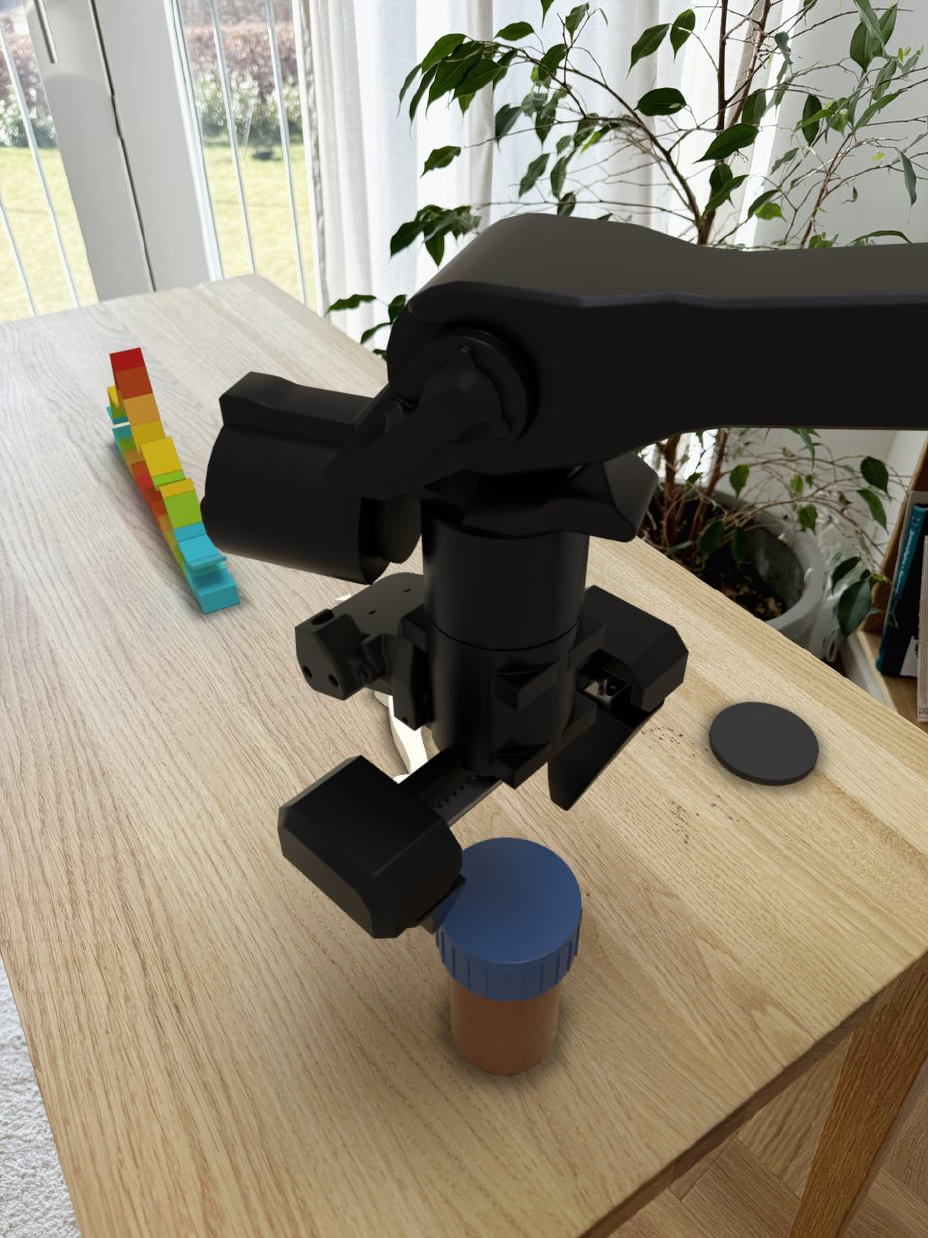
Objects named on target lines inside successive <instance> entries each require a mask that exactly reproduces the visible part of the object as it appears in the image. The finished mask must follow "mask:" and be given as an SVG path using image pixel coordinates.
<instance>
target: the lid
mask: <svg viewBox="0 0 928 1238" xmlns="http://www.w3.org/2000/svg"><path fill="white" fill-rule="evenodd" d="M459 873H460V874H461V875H462V876H463V877H465V878H466V883H465V885H464V887H463V889H462V891H461V892H460V894H459V896H458V897H457V899H456V901H455V903H454V905H453V906H452V908H451V910H450V912H449V914H448V916H447V917H446V919H445V921H444V922H443V924H442V925H441V926H440V928H439V929H438V930H437V931H436V932H435V946H436V948H437V949H438V953H439V957H440V959H441V964H443V965H444V967H445V969H446V971H447V972H448V974H449V973H450V974H451V976H452V978H454V979H455V980H456V981H457V982H458V983H459V984H460V985H461V986H463V987H464V988H466V990H468V991H470V992H472V993H474V994H476V995H478V996H481V997H483V998H486V999H490V1000H494V1001H501V1002H517V1001H524V1000H528V999H532V998H535V997H537V996H540V995H543V994H544V993H545V992H547V991H549V990H550V989H552V988H553V987H554V986H556V985H558V984H559V982H560V981H561V980H562V981H563V979H564V978H565V977H566V975H568V973H569V972H570V971H571V967H572V965H573V964H574V960H575V958H576V957H577V956H578V950H579V943H580V936H581V927H582V919H583V910H584V908H583V907H582V905H583V903H582V902H583V898H582V892H581V888H580V884H579V882H578V879H577V877H576V874H575V873H574V871H573V870H572V868H571V867H570V866H569V865H568V864H567V862H566V861H565V860H564V859H563V858H562V857H561V856H560V855H558V854H557V853H555V852H554V851H553V850H551V849H550V848H548V847H547V846H544V845H542V844H540V843H539V842H535V841H532V840H529V839H525V838H519V837H510V836H509V837H508V836H507V837H505V836H503V837H493V838H488V839H483V840H480V841H478V842H475V843H473V844H471V845H469V846H467V847H465V848H464V849H462V868H461V870H460V872H459Z"/></svg>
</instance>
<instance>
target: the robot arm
mask: <svg viewBox="0 0 928 1238" xmlns="http://www.w3.org/2000/svg"><path fill="white" fill-rule="evenodd" d="M385 359H386V373H387V383H386V384H385V385H384V386H383V387H382V388H381V389H380V391H379V392H378V393H377V394H376V395H375V396H374V397H371V396H367V395H361V394H354V393H350V392H349V393H348V392H345V391H344V392H343V391H337V390H333V389H326V388H320V387H314V386H309V385H303V384H300V383H296V382H294V381H291V380H289V379H287V378H284V377H282V376H279V375H275V374H269V373H265V372H259V371H252V370H251V371H250V370H249V372H247V373H246V374H245V375H244V376H242V377H241V378H240V379H238V381H237V382H235V383H234V384H233V385H232V386H230V387H229V388H227V390H226V391H225V392H223V393H222V394H221V395H219V397H218V404H219V410H220V414H221V420H222V426H221V428H220V430H219V431H218V434H217V436H216V438H215V441H214V443H213V445H212V447H211V448H212V449H211V452H210V455H209V459H208V462H207V467H206V473H205V480H204V496H203V497H202V498H201V500H200V502H199V503H200V511H201V517H202V522H203V525H204V528H205V531H206V533H207V536H208V537H209V539H210V540H211V542H212V543H213V545H214V546H215V547H216V548H217V550H218V551H220V552H221V553H225V554H229V555H233V556H237V557H242V558H245V559H250V560H254V561H259V562H262V563H267V564H271V565H276V566H280V567H284V568H289V569H292V570H297V571H301V572H306V573H308V574H309V573H310V574H315V575H319V576H322V577H326V578H330V579H331V578H332V579H335V580H340V581H343V582H344V581H345V582H349V583H353V584H357V585H362V586H366V587H365V588H363V589H362V590H360V591H358V592H356V593H355V594H353V595H351V596H352V597H350V598H348V599H347V600H345V601H344V602H342V603H340V604H339V605H338V604H336V605H335V606H334V607H332V608H328V607H327V608H324V609H322V610H320V611H319V612H317V613H315V614H313V615H312V616H310V617H309V618H307V619H305V620H304V621H302V622H301V623H299V624H297V625H296V626H294V640H295V656H296V659H297V662H298V666H299V667H300V670H301V673H302V676H303V678H304V680H305V682H306V683H307V684H308V686H309V687H310V688H311V689H312V690H313V691H314V692H318V693H319V694H323V695H325V696H327V697H330V698H334V699H337V700H339V701H342V702H345V701H347V700H349V699H350V698H351V697H353V696H355V694H357V693H358V692H360V691H362V690H363V689H364V688H366V689H368V690H371V691H377V692H380V693H383V694H386V695H390V696H392V697H393V710H394V717H395V718H397V719H398V720H399V721H401V722H402V723H404V724H405V725H406V726H408V727H409V728H410V729H412V730H413V731H416V730H418V729H419V728H421V727H422V726H424V727H425V728H426V729H428V730H430V732H431V739H432V741H433V743H434V745H435V747H436V749H437V750H438V753H436V754H434V756H432V757H431V758H430V759H428V761H427V762H426V763H425V764H423V765H422V766H421V767H420V768H418V769H417V770H416V771H414V772H413V773H412V774H410V775H409V776H408V777H407V778H405V779H404V780H403V781H401V782H400V783H397V782H396V781H395V780H393V779H394V778H393V777H391V776H389V775H388V774H387V773H386V772H384V771H383V770H382V769H381V768H379V766H376V765H375V764H374V763H373V762H371V760H369V759H368V758H366V757H365V756H364V755H362V754H358V755H355V756H351V757H347V758H346V759H344V760H343V761H342V762H340V763H339V764H338V765H336V766H335V767H333V768H331V770H329V771H328V772H326V773H325V774H324V775H322V776H321V777H319V778H318V779H317V780H315V781H314V782H313V783H312V784H310V785H309V786H307V787H306V788H305V789H303V790H301V791H300V792H299V793H297V794H296V795H295V796H293V797H292V798H291V799H289V800H288V801H286V802H285V803H283V804H282V805H280V806H279V807H278V816H277V825H276V826H277V827H276V831H277V835H278V841H279V845H280V850H281V855H282V857H284V859H286V860H287V861H288V862H289V863H290V864H291V866H293V867H294V868H295V869H297V870H298V872H299V873H301V874H302V875H303V876H304V877H305V878H306V879H308V880H309V882H311V883H312V884H313V885H314V886H315V887H316V888H317V889H318V890H319V891H320V892H321V893H323V894H324V895H325V896H326V897H327V898H328V899H330V901H331V902H333V903H334V904H335V905H336V906H337V907H338V908H339V909H340V910H341V911H343V912H344V913H345V915H347V916H348V917H349V918H350V919H351V920H352V921H354V922H355V924H356V925H358V927H360V928H361V929H362V930H363V931H365V933H366V934H367V935H369V936H370V937H371V938H372V939H373V940H380V939H382V940H384V939H385V940H386V939H397V938H399V937H400V936H401V935H402V934H403V933H404V932H405V931H407V930H408V929H414V928H417V927H419V926H420V927H421V928H422V929H424V931H426V932H427V933H428V934H429V935H432V936H433V935H434V934H436V931H437V930H438V929H439V928H440V926H441V925H442V924H443V922H444V921H445V919H446V917H447V916H448V914H449V912H450V910H451V908H452V906H453V905H454V903H455V901H456V899H457V897H458V896H459V894H460V892H461V891H462V889H463V887H464V885H465V883H466V878H465V877H463V876H462V875H461V874H460V873H459V872H460V870H461V868H462V850H463V847H462V845H461V843H459V841H458V839H457V837H456V836H455V834H454V832H453V831H452V830H451V827H452V826H454V825H455V824H456V823H458V821H460V820H461V819H463V818H464V817H465V816H466V815H467V814H468V813H470V812H471V810H473V809H474V808H475V807H476V806H477V805H479V804H480V803H481V802H482V801H483V800H485V799H487V797H488V796H490V795H491V794H492V793H493V792H494V791H496V789H498V788H499V787H500V786H502V784H505V785H506V786H508V787H510V788H511V789H512V790H514V791H516V790H517V789H518V788H519V787H521V785H523V784H524V783H525V782H526V781H527V780H528V779H530V778H531V777H532V776H533V775H534V774H536V773H537V772H538V771H539V770H540V769H541V768H543V767H544V766H545V765H546V764H547V782H548V791H549V799H550V801H551V802H552V803H553V804H554V805H555V806H557V807H559V809H561V810H563V811H565V812H569V811H570V810H571V809H572V808H573V807H574V806H575V805H576V804H577V802H579V800H580V799H581V798H582V797H583V795H585V793H586V792H587V791H588V790H589V789H590V788H591V786H592V785H593V784H594V783H595V782H596V781H597V779H598V778H599V777H600V776H601V775H602V774H603V773H604V771H605V770H606V769H607V768H608V767H609V766H610V765H611V764H612V762H614V760H615V759H616V758H617V757H618V756H619V754H620V753H621V752H623V750H624V749H625V748H626V747H627V746H628V745H629V743H630V742H631V741H633V739H634V738H635V736H637V734H639V732H640V731H641V730H642V729H643V728H644V727H645V725H647V724H648V722H649V721H650V720H651V719H652V718H653V717H654V716H655V715H656V714H657V713H658V712H659V711H660V710H661V709H662V708H663V707H664V704H665V702H666V698H668V697H669V696H670V695H671V694H672V693H673V692H674V691H675V690H677V689H678V688H679V687H680V686H681V685H683V683H684V680H685V675H686V670H687V664H688V660H689V659H688V658H689V654H690V651H689V649H688V647H687V645H686V643H685V642H684V640H683V638H682V637H681V635H680V633H679V632H678V630H677V628H676V627H675V626H674V625H672V624H671V623H668V622H667V621H664V620H662V619H660V618H658V617H656V616H655V615H652V614H651V613H649V612H647V611H646V610H644V609H641V608H640V607H638V606H636V605H634V604H633V603H630V602H628V601H627V600H625V599H623V598H621V597H619V596H617V595H615V594H613V593H612V592H609V591H608V590H606V589H604V588H602V587H600V586H598V585H596V584H592V585H590V586H587V587H586V585H587V572H588V564H589V563H588V562H589V551H590V540H591V537H594V538H597V539H598V538H599V539H603V540H609V541H613V542H618V543H625V544H626V543H629V542H632V541H634V540H635V539H636V536H637V535H638V533H639V530H640V528H641V526H642V524H643V521H644V518H645V516H646V514H647V511H648V510H649V509H648V508H649V506H650V504H651V502H652V499H653V496H654V494H655V492H656V490H657V487H658V485H659V483H660V478H659V477H660V476H659V475H658V473H657V471H656V470H655V469H654V468H652V466H650V465H649V464H648V463H647V461H645V460H644V459H643V458H642V457H641V456H640V455H638V454H636V453H635V452H637V451H639V450H641V449H644V448H647V447H649V446H653V445H655V444H657V443H661V442H663V441H666V440H669V439H672V438H673V437H677V436H681V435H685V434H691V433H699V432H707V431H713V430H720V429H774V430H775V429H777V430H779V429H780V430H783V429H785V430H837V431H838V430H842V431H843V430H844V431H847V430H848V431H897V432H898V431H900V432H902V431H903V432H904V431H905V432H906V431H907V432H908V431H909V432H928V241H924V242H908V243H907V242H905V243H888V244H887V243H885V244H882V243H881V244H864V245H846V246H843V245H842V246H825V247H824V246H823V247H808V248H807V247H805V248H804V247H803V248H788V249H785V248H783V249H767V250H766V249H765V250H739V249H730V248H724V247H723V248H721V247H713V246H706V245H705V246H704V245H700V244H696V243H693V242H690V241H688V240H685V239H683V238H679V237H676V236H673V235H671V234H668V233H664V232H661V231H658V230H656V229H654V228H650V227H647V226H644V225H641V224H637V223H631V222H622V221H613V220H605V219H597V218H590V217H589V218H587V217H582V216H574V215H573V216H572V215H564V214H555V213H548V212H524V213H521V214H516V215H512V216H509V217H504V218H500V219H498V220H497V221H495V222H494V223H492V224H491V225H489V226H486V227H485V228H484V229H483V230H482V231H481V232H480V233H479V234H478V235H476V236H475V237H474V238H473V239H472V240H470V242H469V243H467V245H465V246H464V247H463V248H462V249H461V250H460V251H459V252H458V253H457V254H455V256H454V257H453V258H452V259H450V260H449V262H447V263H446V264H445V265H444V266H443V267H442V268H441V269H440V270H439V271H438V272H437V273H436V274H435V275H434V276H432V277H431V278H430V279H429V280H428V281H427V282H426V283H425V284H424V285H423V286H421V288H420V289H419V290H417V292H416V293H415V294H413V295H412V296H411V297H410V298H409V299H408V300H407V302H406V303H405V305H404V306H403V307H402V309H401V310H400V312H399V313H398V315H397V317H396V318H395V319H394V320H393V322H392V324H391V329H390V333H389V336H388V340H387V344H386V348H385ZM420 539H421V559H422V574H421V573H415V572H410V571H401V572H394V573H392V574H389V575H386V576H384V577H382V578H380V577H381V576H383V574H384V573H385V572H386V570H387V569H388V568H389V566H390V564H391V563H392V564H397V565H402V564H404V563H405V562H407V561H408V560H409V558H410V557H411V556H412V555H413V553H414V551H415V550H416V548H417V546H418V544H419V542H420ZM379 578H380V579H379ZM422 728H423V727H422Z"/></svg>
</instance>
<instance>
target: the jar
mask: <svg viewBox="0 0 928 1238" xmlns="http://www.w3.org/2000/svg"><path fill="white" fill-rule="evenodd" d="M448 975H449V976H448V977H449V978H448V979H449V980H448V981H449V1004H450V1005H449V1008H450V1028H451V1034H452V1037H453V1040H454V1043H455V1045H456V1047H457V1050H458V1051H459V1052H460V1053H461V1054H462V1056H463V1057H464V1058H465V1059H466V1060H467V1061H468V1062H469V1063H471V1064H472V1065H473V1066H475V1067H476V1068H478V1069H480V1070H483V1071H484V1072H488V1073H491V1074H495V1075H515V1074H519V1073H523V1072H525V1071H528V1070H530V1069H531V1068H533V1067H535V1066H537V1065H538V1064H539V1063H540V1062H542V1061H543V1059H544V1058H545V1057H546V1056H547V1055H548V1053H549V1052H550V1051H551V1049H552V1046H553V1044H554V1042H555V1039H556V1034H557V1028H558V1019H559V1011H560V1010H559V1009H560V1003H561V1002H560V1001H561V992H562V984H563V983H562V982H563V979H562V980H561V981H560V982H559V984H558V985H556V986H554V987H553V988H552V989H550V990H549V991H547V992H545V993H544V994H543V995H540V996H537V997H535V998H532V999H528V1000H524V1001H517V1002H501V1001H494V1000H490V999H486V998H483V997H481V996H478V995H476V994H474V993H472V992H470V991H468V990H466V988H464V987H463V986H461V985H460V984H459V983H458V982H457V981H456V980H455V979H454V978H452V976H451V974H450V973H449V972H448Z"/></svg>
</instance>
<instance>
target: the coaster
mask: <svg viewBox="0 0 928 1238" xmlns="http://www.w3.org/2000/svg"><path fill="white" fill-rule="evenodd" d="M708 738H709V744H710V748H711V751H712V753H713V754H714V756H715V757H716V759H717V760H718V761H719V763H720V764H721V765H722V766H724V767H725V768H726V770H728V771H729V772H731V773H732V774H735V776H738V777H740V778H742V779H744V780H747V781H749V782H753V783H756V784H761V785H766V786H767V785H768V786H782V785H783V786H784V785H789V784H793V783H796V782H798V781H800V780H803V779H804V778H805V777H807V776H808V775H810V773H811V772H812V771H813V769H814V768H815V766H816V764H817V762H818V758H819V754H820V746H819V740H818V738H817V736H816V734H815V732H814V731H813V729H812V728H811V726H809V724H807V722H805V720H803V719H802V718H801V717H800V716H798V715H797V714H795V713H794V712H792V711H791V710H788V709H786V708H784V707H781V706H779V705H776V704H773V703H768V702H762V701H761V702H760V701H744V702H739V703H734V704H732V705H729V706H727V707H725V708H724V709H722V710H721V711H720V712H719V713H718V714H716V716H715V717H714V718H713V720H712V722H711V726H710V729H709V735H708Z"/></svg>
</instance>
